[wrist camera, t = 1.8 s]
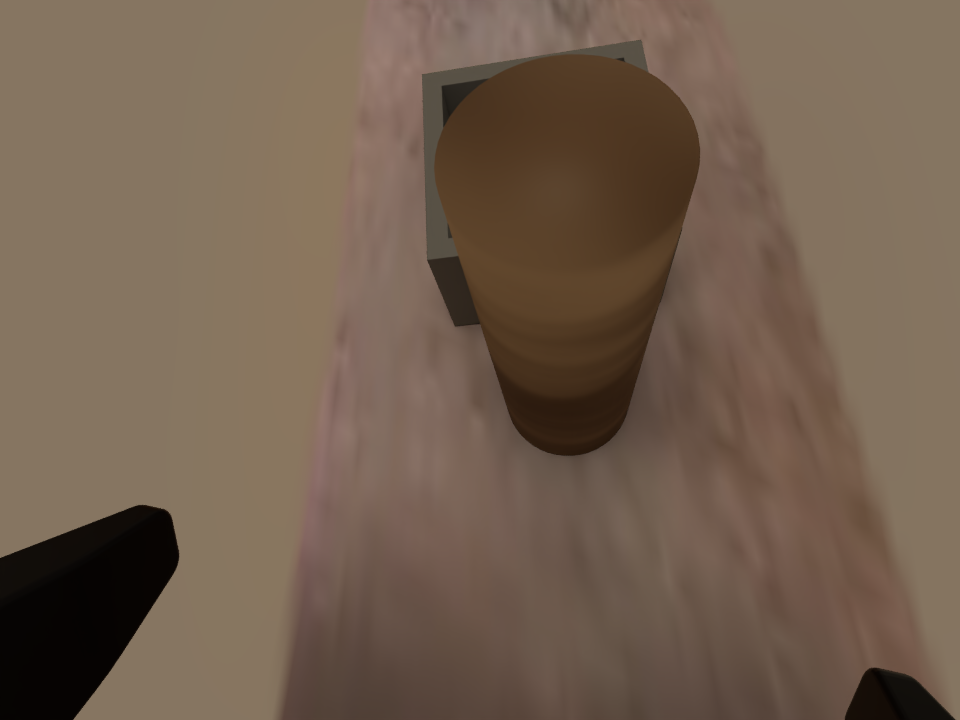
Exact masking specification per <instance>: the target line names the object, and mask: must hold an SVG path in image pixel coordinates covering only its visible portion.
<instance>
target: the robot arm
mask: <svg viewBox="0 0 960 720" xmlns="http://www.w3.org/2000/svg"><path fill="white" fill-rule="evenodd" d="M178 561H179V550H178V545H177V540H176V535H175V531H174V526H173V520H172V517H171V515H170V514H169V512H168V511H166V510H165V509H161V508H156V507H152V506H147V505H138V506H134V507H131V508H129V509H126V510H124V511H121V512H118V513H116V514H113V515H111V516H108V517H106V518H103V519H100V520H98V521H95V522H92V523H90V524H88V525H85V526H82V527H80V528H77V529H74V530H72V531H69V532H67V533H64V534H61V535H59V536H56V537H54V538H51V539H48V540H46V541H43V542H40V543H38V544H35V545H33V546H30V547H28V548H25V549H22V550H20V551H17V552H14V553H12V554H10V555H7V556H4V557H2V558H0V720H73V719H74V718H75V717H76V715H77V714H78V713H79V712H80V710H81V709H82V708H83V706H84V705H85V704H86V702H87V701H88V700H89V698H90V697H91V696H92V695H93V693H94V692H95V691H96V689H97V688H98V687H99V685H100V684H101V683H102V681H103V680H104V679H105V677H106V676H107V675H108V673H109V672H110V671H111V669H112V668H113V666H114V665H115V663H116V661H117V660H118V659H119V657H120V656H121V654H122V653H123V651H124V650H125V648H126V646H127V645H128V643H129V642H130V640H131V639H132V637H133V636H134V634H135V633H136V631H137V630H138V628H139V626H140V625H141V623H142V622H143V620H144V619H145V617H146V616H147V614H148V612H149V611H150V609H151V608H152V606H153V605H154V603H155V602H156V600H157V599H158V597H159V595H160V594H161V592H162V591H163V589H164V588H165V586H166V585H167V583H168V582H169V580H170V578H171V577H172V575H173V574H174V572H175V570H176V568H177V565H178ZM845 720H955V719H954V718H953V717H952V716H951V715H950V714H949V713H948V712H947V710H946V709H945V708H944V707H943V706H942V705H941V704H940V703H939V702H938V701H937V700H936V699H935V698H934V697H933V696H932V695H931V694H930V693H929V692H928V691H927V690H926V689H925V688H924V687H923V686H922V685H921V684H920V683H919V682H918V681H917V680H915V679H914V678H912V677H911V676H909V675H906V674H902V673H898V672H893V671H889V670H884V669H880V668H870V669H868V670H867V671H866V672H865V673H864V675H863V677H862V679H861V681H860V683H859V686H858V688H857V690H856V692H855V694H854V697H853V699H852V701H851V703H850V706H849V708H848V710H847V713H846V716H845Z"/></svg>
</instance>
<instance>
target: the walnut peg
mask: <svg viewBox="0 0 960 720" xmlns="http://www.w3.org/2000/svg"><path fill="white" fill-rule="evenodd" d="M699 164H700V146H699V138H698V133H697V130H696V127H695V124H694V121H693V119H692V117H691V115H690V113H689V111H688V109H687V108H686V106H685V105H684V104H683V102H682V101H681V99H680V98H679V97H678V96H677V95H676V94H675V93H674V92H673V91H672V90H671V89H670V88H669V87H668V86H667V85H666V84H665V83H663V82H662V81H661V80H659V79H658V78H657V77H655V76H653V75H652V74H650V73H648V72H647V71H645V70H643V69H641V68H638V67H636V66H634V65H632V64H629V63H626V62H623V61H620V60H617V59H612V58H607V57H602V56H595V55H585V54H566V55H556V56H549V57H543V58H538V59H534V60H531V61H527V62H524V63H521V64H518V65H516V66H513V67H511V68H508V69H506V70H504V71H502V72H500V73H498V74H496V75H494V76H493V77H491V78H490V79H488V80H487V81H485V82H484V83H482V84H481V85H479V86H478V87H477V88H476V89H474V90H473V91H472V92H471V93H470V94H468V95H467V96H466V98H465V99H464V100H463V101H462V102H461V103H460V104H459V105H458V106H457V108H456V109H455V110H454V112H453V113H452V114H451V116H450V117H449V119H448V121H447V122H446V124H445V126H444V128H443V130H442V133H441V135H440V138H439V140H438V144H437V148H436V153H435V162H434V173H435V183H436V186H437V190H438V194H439V197H440V200H441V204H442V207H443V210H444V213H445V216H446V219H447V222H448V225H449V228H450V231H451V235H452V238H453V241H454V244H455V247H456V250H457V253H458V256H459V259H460V263H461V266H462V269H463V272H464V275H465V278H466V281H467V284H468V287H469V290H470V294H471V297H472V300H473V303H474V306H475V309H476V312H477V315H478V318H479V321H480V325H481V328H482V331H483V334H484V337H485V340H486V343H487V346H488V349H489V352H490V356H491V359H492V362H493V365H494V368H495V371H496V374H497V377H498V380H499V383H500V387H501V390H502V393H503V396H504V399H505V402H506V405H507V408H508V411H509V414H510V417H511V419H512V422H513V424H514V425H515V427H516V429H517V430H518V431H519V433H520V434H521V435H522V436H523V437H524V438H525V439H526V440H527V441H528V442H530V443H531V444H532V445H534V446H535V447H537V448H539V449H541V450H543V451H546V452H548V453H552V454H556V455H564V456H565V455H580V454H584V453H588V452H591V451H593V450H595V449H597V448H599V447H601V446H603V445H604V444H605V443H607V442H608V441H609V440H610V439H611V438H612V437H613V436H614V435H615V434H616V433H617V431H618V430H619V429H620V427H621V425H622V423H623V422H624V419H625V416H626V414H627V410H628V407H629V403H630V400H631V397H632V393H633V390H634V387H635V383H636V380H637V377H638V373H639V370H640V367H641V363H642V360H643V356H644V353H645V350H646V346H647V343H648V340H649V336H650V333H651V330H652V326H653V323H654V319H655V316H656V313H657V309H658V306H659V303H660V299H661V296H662V293H663V289H664V286H665V283H666V279H667V276H668V272H669V269H670V266H671V262H672V259H673V256H674V252H675V249H676V246H677V242H678V239H679V235H680V232H681V229H682V225H683V222H684V219H685V215H686V212H687V209H688V205H689V202H690V199H691V195H692V192H693V188H694V185H695V182H696V178H697V174H698V169H699Z"/></svg>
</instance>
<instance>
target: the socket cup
mask: <svg viewBox="0 0 960 720" xmlns="http://www.w3.org/2000/svg"><path fill="white" fill-rule="evenodd" d="M566 54H585V55H595V56H602V57H607V58H612V59H617V60H620V61H623V62H626V63H629V64H632V65H634V66H636V67H638V68H641V69H643V70H645V71H647V72H648V68H647V64H646V59H645V54H644V50H643V45H642V41H641V40H637V41H630V42H624V43H618V44H611V45H605V46H599V47H592V48H586V49H580V50H573V51H567V52H561V53H554V54H548V55H542V56H535V57H529V58H523V59H516V60H510V61H504V62H497V63H491V64H485V65H478V66H472V67H466V68H459V69H453V70H447V71H440V72H434V73H428V74H422V88H423V125H424V161H425V198H426V234H427V261H428V263H429V265H430V268H431V270H432V273H433V275H434V277H435V280H436V282H437V284H438V287H439V289H440V292H441V294H442V296H443V299H444V301H445V304H446V306H447V308H448V311H449V313H450V316H451V318H452V320H453V323H454V325H455V326H460V325H469V324H478V323H480V321H479V318H478V315H477V312H476V309H475V306H474V303H473V300H472V297H471V294H470V290H469V287H468V284H467V281H466V278H465V275H464V272H463V269H462V266H461V263H460V259H459V256H458V253H457V250H456V247H455V244H454V241H453V238H452V235H451V231H450V228H449V225H448V222H447V219H446V216H445V213H444V210H443V207H442V204H441V200H440V197H439V194H438V190H437V186H436V183H435V173H434V162H435V153H436V148H437V144H438V140H439V138H440V135H441V133H442V130H443V128H444V126H445V124H446V122H447V121H448V119H449V117H450V116H451V114H452V113H453V112H454V110H455V109H456V108H457V106H458V105H459V104H460V103H461V102H462V101H463V100H464V99H465V98H466V96H467V95H468V94H470V93H471V92H472V91H473V90H474V89H476V88H477V87H478V86H479V85H481V84H482V83H484V82H485V81H487V80H488V79H490V78H491V77H493V76H494V75H496V74H498V73H500V72H502V71H504V70H506V69H508V68H511V67H513V66H516V65H518V64H521V63H524V62H527V61H531V60H534V59H538V58H543V57H549V56H556V55H566ZM681 231H682V229H681ZM680 235H681V232H680ZM680 235H679V238H680ZM678 241H679V239H678ZM677 245H678V242H677ZM676 248H677V246H676ZM675 251H676V249H675ZM674 255H675V252H674ZM673 258H674V256H673ZM672 261H673V259H672ZM671 265H672V262H671ZM670 268H671V266H670ZM669 271H670V269H669ZM668 275H669V272H668ZM667 278H668V276H667ZM666 281H667V279H666ZM665 285H666V283H665ZM664 288H665V286H664ZM663 291H664V289H663ZM662 295H663V293H662ZM661 298H662V296H661ZM660 301H661V299H660Z"/></svg>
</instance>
